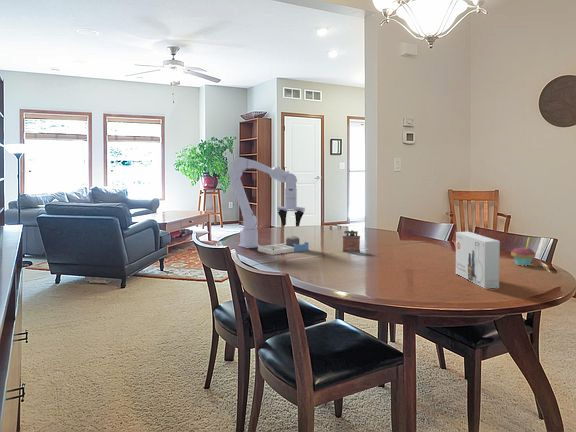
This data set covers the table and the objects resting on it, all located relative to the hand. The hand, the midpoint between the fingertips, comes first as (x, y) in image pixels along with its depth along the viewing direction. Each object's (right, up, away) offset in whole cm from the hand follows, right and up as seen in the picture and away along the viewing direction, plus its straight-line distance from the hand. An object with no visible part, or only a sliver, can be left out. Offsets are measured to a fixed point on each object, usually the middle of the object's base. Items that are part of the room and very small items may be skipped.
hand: (290, 225), depth 222 cm
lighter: (+28, -12, -13) cm, 33 cm away
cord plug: (+1, -11, -6) cm, 13 cm away
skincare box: (+63, -18, -68) cm, 94 cm away
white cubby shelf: (-3, -11, -9) cm, 15 cm away
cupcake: (+92, -15, -42) cm, 103 cm away
